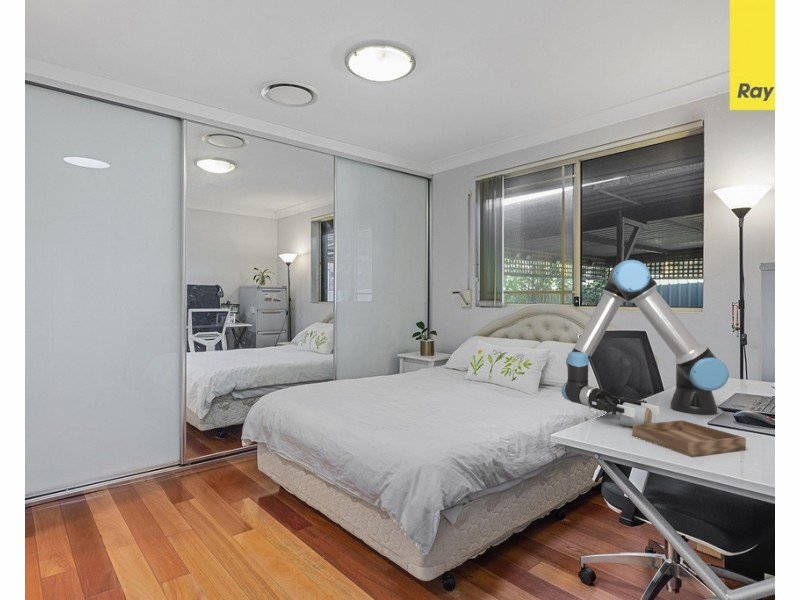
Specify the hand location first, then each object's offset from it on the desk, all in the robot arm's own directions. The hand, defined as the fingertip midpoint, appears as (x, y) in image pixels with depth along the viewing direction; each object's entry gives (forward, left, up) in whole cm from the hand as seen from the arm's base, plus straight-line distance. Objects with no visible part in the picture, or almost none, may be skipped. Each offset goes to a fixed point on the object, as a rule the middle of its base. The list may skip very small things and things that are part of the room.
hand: (646, 412), depth 149 cm
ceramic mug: (-1, -5, -6) cm, 8 cm away
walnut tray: (-1, +14, -6) cm, 15 cm away
